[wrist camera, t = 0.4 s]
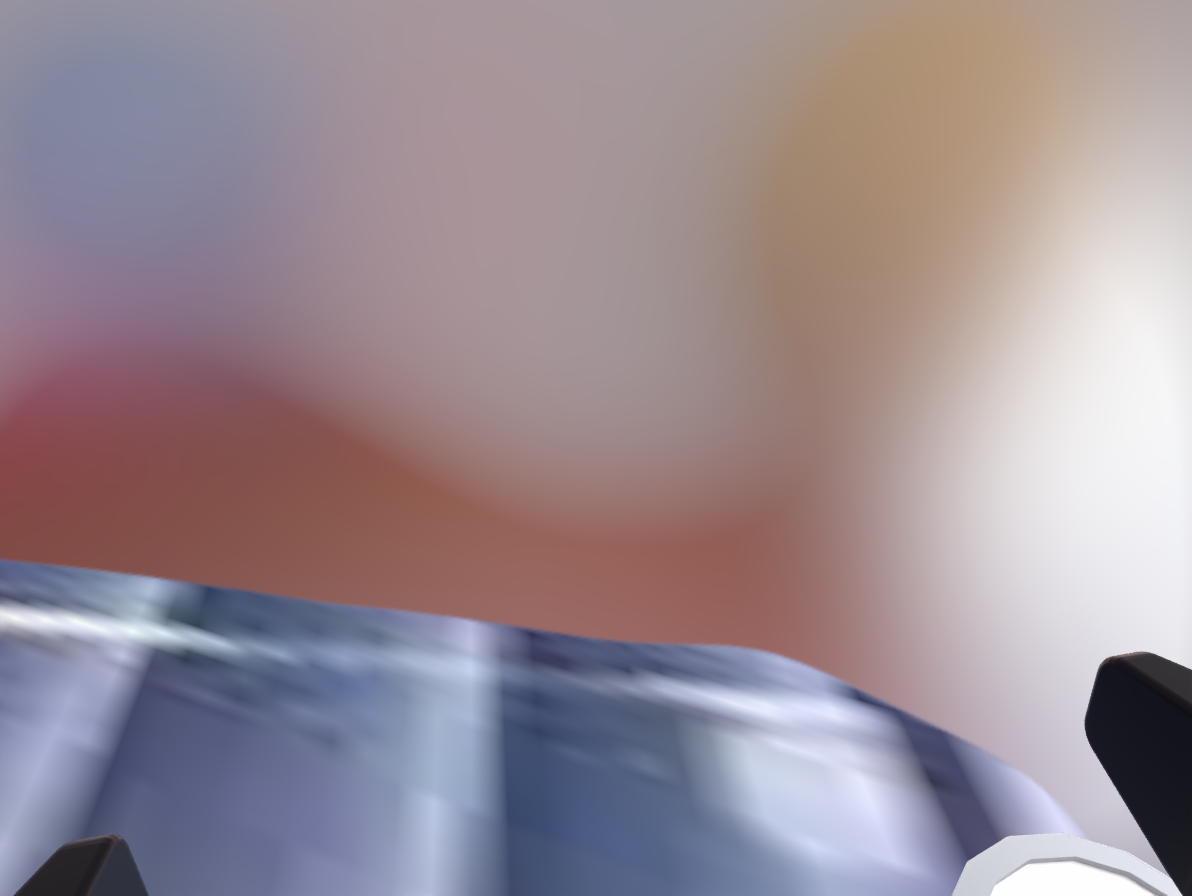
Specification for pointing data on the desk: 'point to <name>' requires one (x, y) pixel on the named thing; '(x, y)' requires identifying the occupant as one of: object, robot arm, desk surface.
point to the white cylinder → (1059, 870)
